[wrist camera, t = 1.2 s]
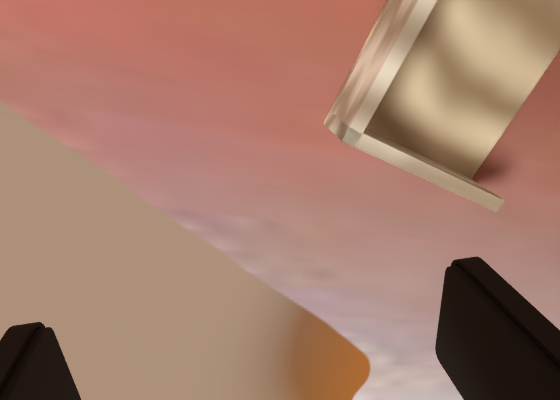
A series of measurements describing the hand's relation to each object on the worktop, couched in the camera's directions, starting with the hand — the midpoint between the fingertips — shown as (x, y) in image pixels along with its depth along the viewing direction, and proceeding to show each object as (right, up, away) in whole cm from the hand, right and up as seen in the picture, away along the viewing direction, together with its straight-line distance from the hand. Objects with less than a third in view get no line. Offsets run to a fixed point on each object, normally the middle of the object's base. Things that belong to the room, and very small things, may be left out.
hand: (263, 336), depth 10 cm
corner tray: (+15, +15, +25) cm, 33 cm away
